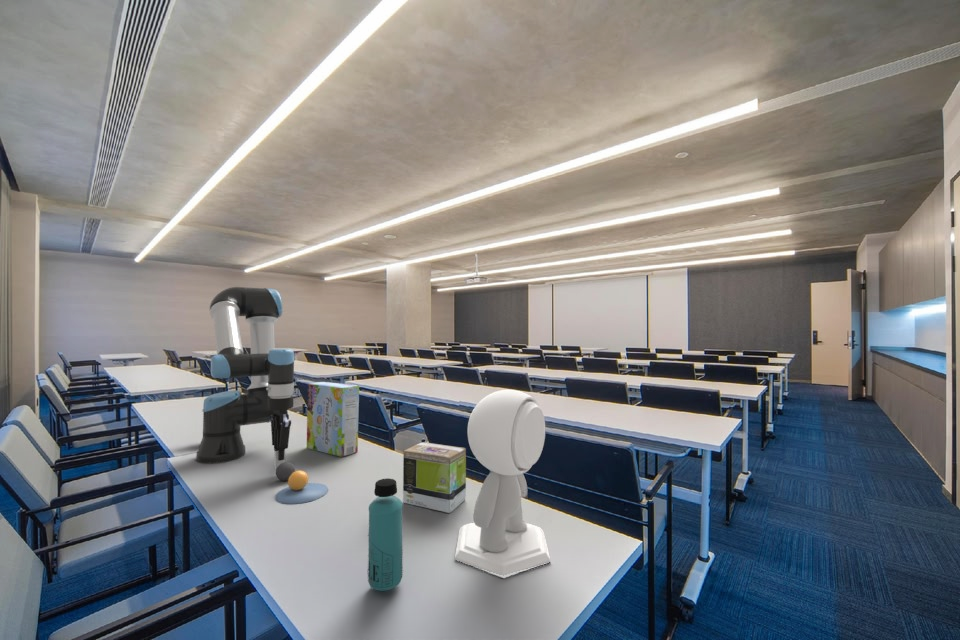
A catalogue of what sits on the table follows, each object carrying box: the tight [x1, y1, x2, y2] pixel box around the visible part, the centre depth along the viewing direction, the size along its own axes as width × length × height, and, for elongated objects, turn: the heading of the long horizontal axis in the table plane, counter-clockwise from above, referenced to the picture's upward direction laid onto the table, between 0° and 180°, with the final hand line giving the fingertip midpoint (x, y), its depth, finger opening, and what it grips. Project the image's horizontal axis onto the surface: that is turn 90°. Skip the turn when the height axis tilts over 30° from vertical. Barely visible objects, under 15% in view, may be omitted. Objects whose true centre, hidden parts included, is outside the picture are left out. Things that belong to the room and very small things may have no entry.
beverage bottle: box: [367, 478, 404, 592], centre depth 74 cm, size 6×7×20 cm
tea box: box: [402, 441, 467, 514], centre depth 111 cm, size 15×10×15 cm
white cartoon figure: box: [454, 389, 551, 576], centre depth 89 cm, size 20×23×35 cm
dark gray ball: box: [275, 461, 296, 482], centre depth 125 cm, size 6×6×6 cm
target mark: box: [274, 482, 329, 505], centre depth 115 cm, size 14×14×1 cm
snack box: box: [306, 381, 360, 458], centre depth 155 cm, size 22×9×26 cm, turn 58°
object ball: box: [287, 470, 309, 491], centre depth 118 cm, size 6×6×6 cm
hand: (279, 469), depth 129 cm, fingers closed
